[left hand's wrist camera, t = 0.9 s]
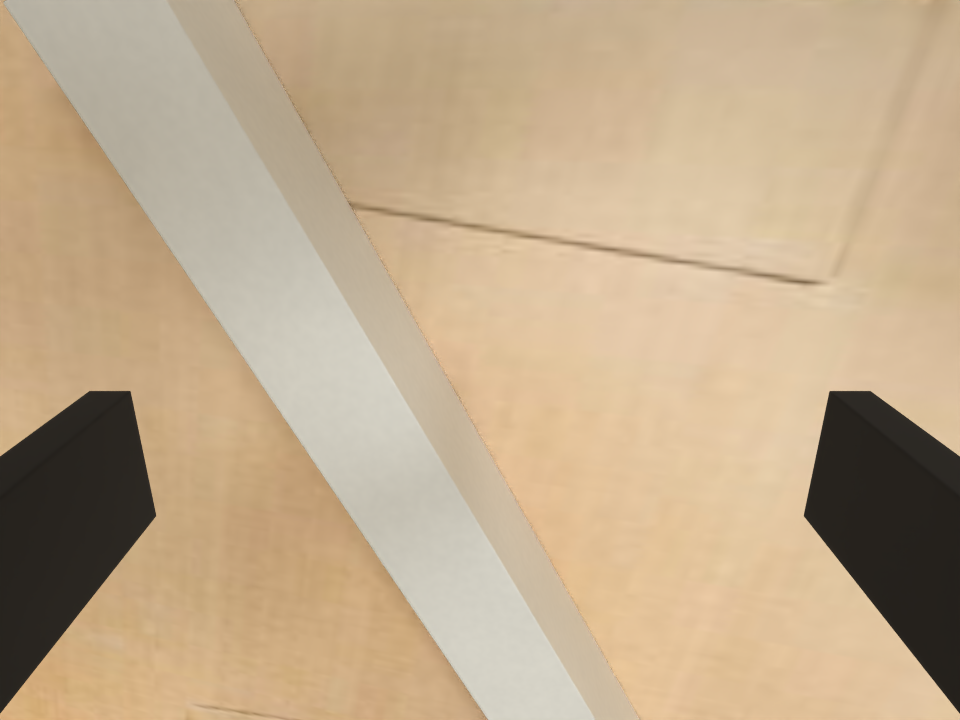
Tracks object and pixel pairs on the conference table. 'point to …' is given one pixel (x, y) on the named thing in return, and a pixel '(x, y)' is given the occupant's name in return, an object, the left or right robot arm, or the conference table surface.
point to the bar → (325, 334)
